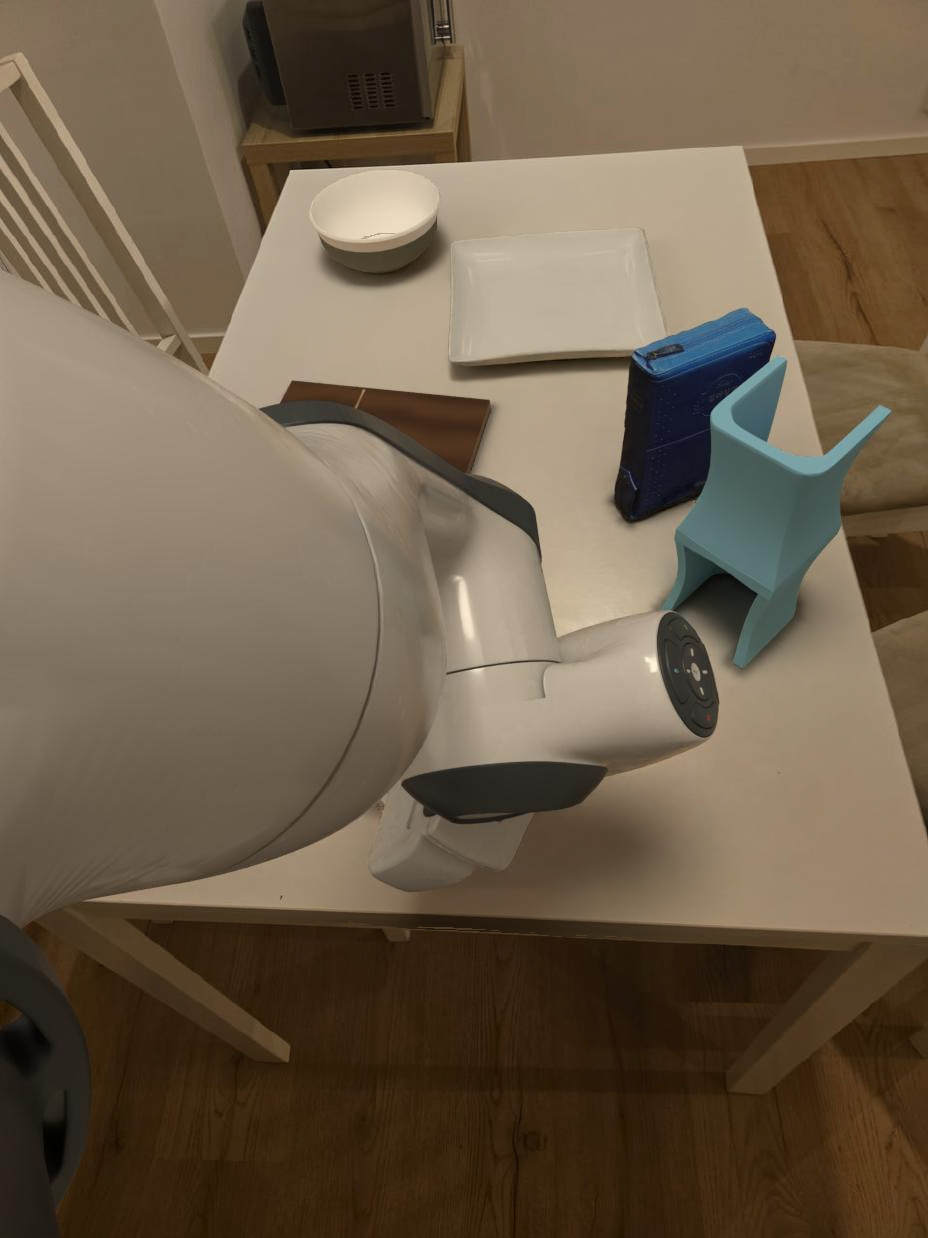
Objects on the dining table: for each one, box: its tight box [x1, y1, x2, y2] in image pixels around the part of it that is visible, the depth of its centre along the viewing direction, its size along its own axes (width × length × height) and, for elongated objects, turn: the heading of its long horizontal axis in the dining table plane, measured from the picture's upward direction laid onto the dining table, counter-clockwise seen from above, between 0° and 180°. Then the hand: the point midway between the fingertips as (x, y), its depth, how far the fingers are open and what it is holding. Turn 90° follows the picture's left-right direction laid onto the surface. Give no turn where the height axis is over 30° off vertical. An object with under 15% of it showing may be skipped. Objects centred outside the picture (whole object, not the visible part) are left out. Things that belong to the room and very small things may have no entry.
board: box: [279, 380, 492, 474], centre depth 90 cm, size 42×26×2 cm, turn 166°
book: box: [613, 307, 777, 521], centre depth 81 cm, size 14×5×20 cm, turn 115°
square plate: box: [447, 227, 670, 367], centre depth 107 cm, size 27×27×4 cm
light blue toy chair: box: [659, 354, 893, 670], centre depth 70 cm, size 10×10×25 cm
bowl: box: [308, 169, 442, 275], centre depth 116 cm, size 19×19×8 cm
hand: (385, 764), depth 64 cm, fingers closed on cuneiform tablet, 4 cm apart
